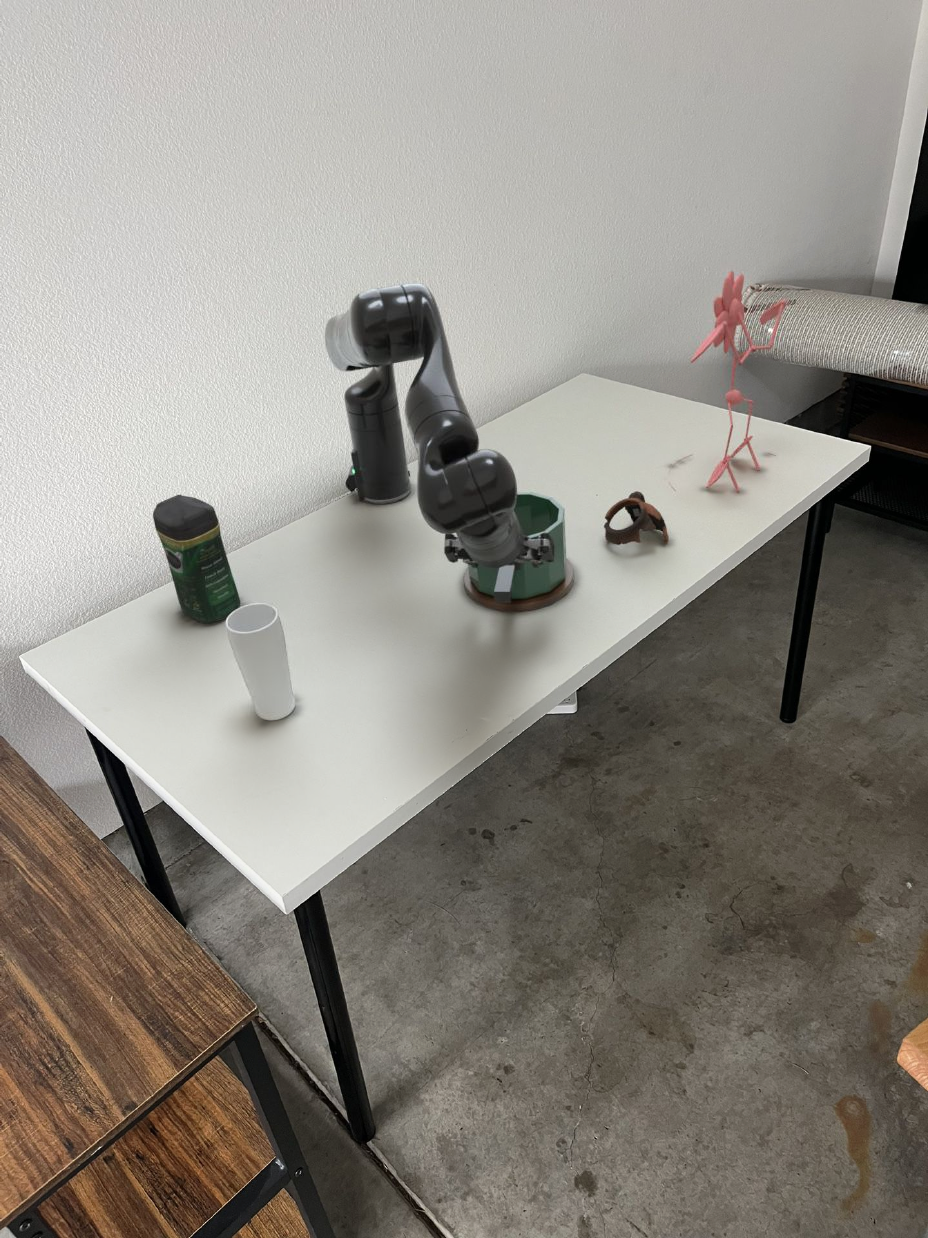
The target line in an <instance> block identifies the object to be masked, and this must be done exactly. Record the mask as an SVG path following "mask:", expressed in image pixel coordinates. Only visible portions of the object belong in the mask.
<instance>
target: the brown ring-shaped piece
mask: <svg viewBox="0 0 928 1238" xmlns="http://www.w3.org/2000/svg"><path fill="white" fill-rule="evenodd" d="M623 509H624V510H625V511H626V512H627V514H628V515H629V516H630V519H631V521H632V524H630V525H629V526H627V527H625V528H622V529H614V528H613V527H611V525H610V524H611V521H612V520H613V519H614V517H615V516H616V515H617V514H618V513H619V512H620V511H621V510H623ZM604 519H605V520H606V522H605V523H604V525H603V528H604V530H605V531H604V532H605V533H604V535H605V536H604V537H605V540H606V541H607V542H608V543H611V544H613V545H616V546H620V545H627V544H630V543H633V542H634V543H638V544H641V543H642V541H641V535H640V534H641V533H640V531H643V532H648V531H649V532H650V531H651V532H653V531H655V530H656V531H659V532H661V536H662V538H663V541H664V544H665V545H668V544H669V534H668V528H667V525H666V522H665V519H664V518H663V515H662V514H661V512H660V511H659V510H658V509H657V508H656V507H655V506H654V505H652V504H651V503H648V502H646V499H645V495H644V494H643V493H642V492H641V491H637V490H635V491H634V492H631V493H630V494H629V495H628V497H626V498H623V499H621V500H619V501H617V502H616V503H615V504H614V505H612V506H611V507H610V508H609V509H608V510H607V512H606V513H605V516H604Z"/></svg>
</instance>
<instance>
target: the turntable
mask: <svg viewBox="0 0 928 1238" xmlns="http://www.w3.org/2000/svg"><path fill="white" fill-rule="evenodd" d="M566 564H567V565H566V574H565V579H564V580H563V581H562V582H561V583H560V584H558V585H557V586H556V587H555V588H554V589H553V590H551V591H550V592H547V593H544V594H540V595H537V596H534V597H531V598H527V599H511V603H495V600H494V596H491V595H489V594H486V593H483V592H480V591H479V590H478V589H477V588H476V586H475V585H474V584H473V582H472V581H471V580H470V577H469V568H468V567H467V568H466V569H465V571H464V573H463V585H464V586H463V587H464V591H465V592H466V595H467V596H468V597H469V598H470V599H471V600H472V601H473V602H475V603H476V604H478V605H480V606H481V607H484V608H487V609H490V610H495V611H501V612H512V613H513V612H514V613H515V612H527V611H533V610H539V609H541V608H544V607H547V606H549V605H552V604H554V603H556V602H559V601H561V599H563V598H564V597H566V595H567V594H569V592H570V591H571V589H572V587H573V585H574V582H575V571H574V566H573V565H572V563H571V562H570V560H569V559H568V558H567V557H566Z"/></svg>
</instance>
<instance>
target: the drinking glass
mask: <svg viewBox="0 0 928 1238" xmlns="http://www.w3.org/2000/svg"><path fill="white" fill-rule="evenodd" d="M224 623H225V624H224V625H225V630H226V633H227V634H226V635H227V637H228V641H229V645H230V649H231V651H232V654H233V656H234V659H235V661H236V664H237V667H238V669H239V671H240V674H241V677H242V679H243V682H244V684H245V687H246V689H247V691H248V694H249V696H250V699H251V701H252V704H253V708H254V711H255V713H256V715H257V716H258V717H259V718H260V719H262V720H265V721H278V720H282V719H284V718H286V717H288V716H289V715H290V714H291V713H292V712H293V711H294V709H295V706H296V699H295V694H294V689H293V684H292V676H291V670H290V664H289V657H288V648H287V642H286V641H287V640H286V636H285V632H284V628H283V624H282V621H281V617H280V614H279V611H278V609H277V608H276V607H275V606H273V605H272V604H269V603H263V602H255V603H250V604H246V605H243V606H239V608H238V609H236V610H235V611H233V612H232V613H231V614H230V615H229V616H228V617H227V618H225V622H224Z"/></svg>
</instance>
